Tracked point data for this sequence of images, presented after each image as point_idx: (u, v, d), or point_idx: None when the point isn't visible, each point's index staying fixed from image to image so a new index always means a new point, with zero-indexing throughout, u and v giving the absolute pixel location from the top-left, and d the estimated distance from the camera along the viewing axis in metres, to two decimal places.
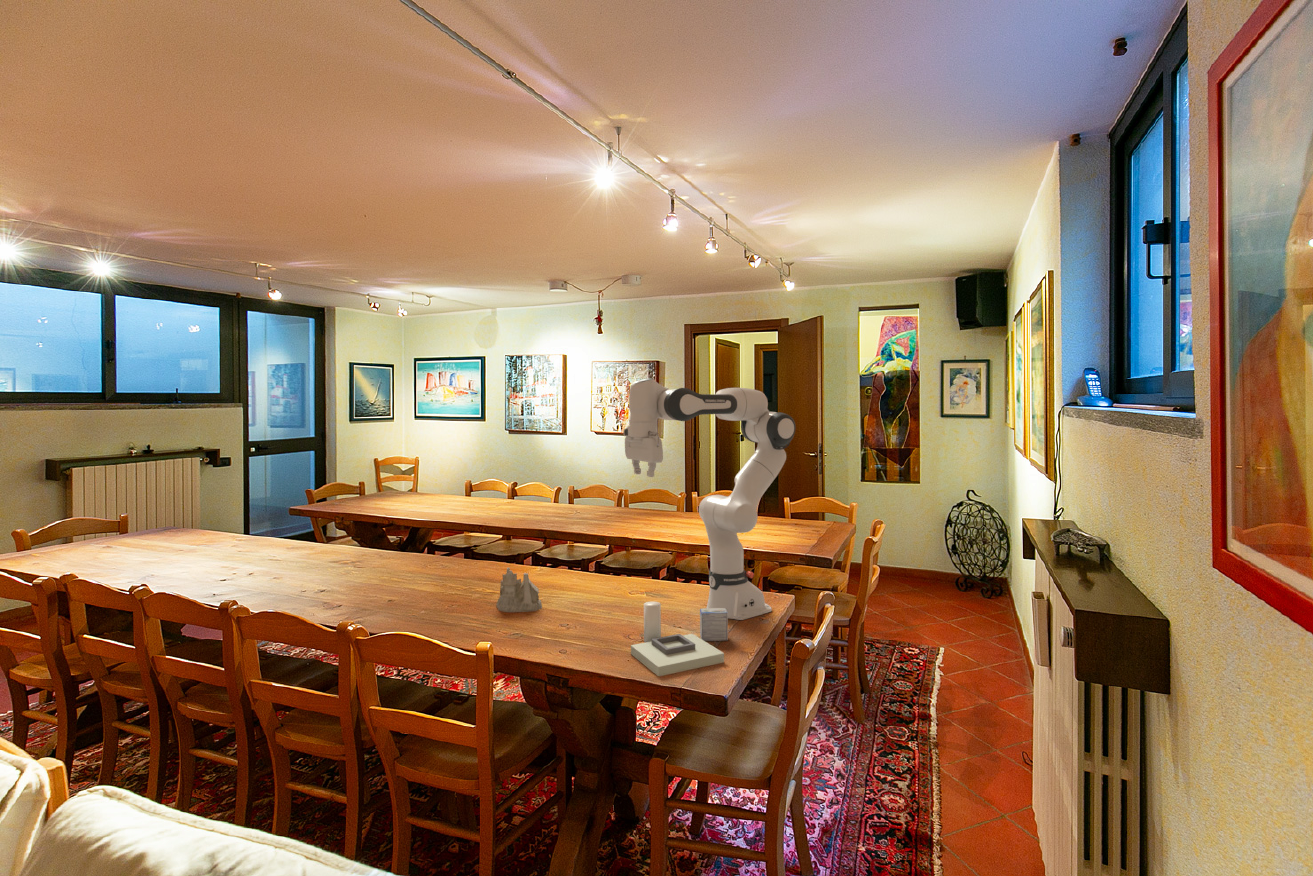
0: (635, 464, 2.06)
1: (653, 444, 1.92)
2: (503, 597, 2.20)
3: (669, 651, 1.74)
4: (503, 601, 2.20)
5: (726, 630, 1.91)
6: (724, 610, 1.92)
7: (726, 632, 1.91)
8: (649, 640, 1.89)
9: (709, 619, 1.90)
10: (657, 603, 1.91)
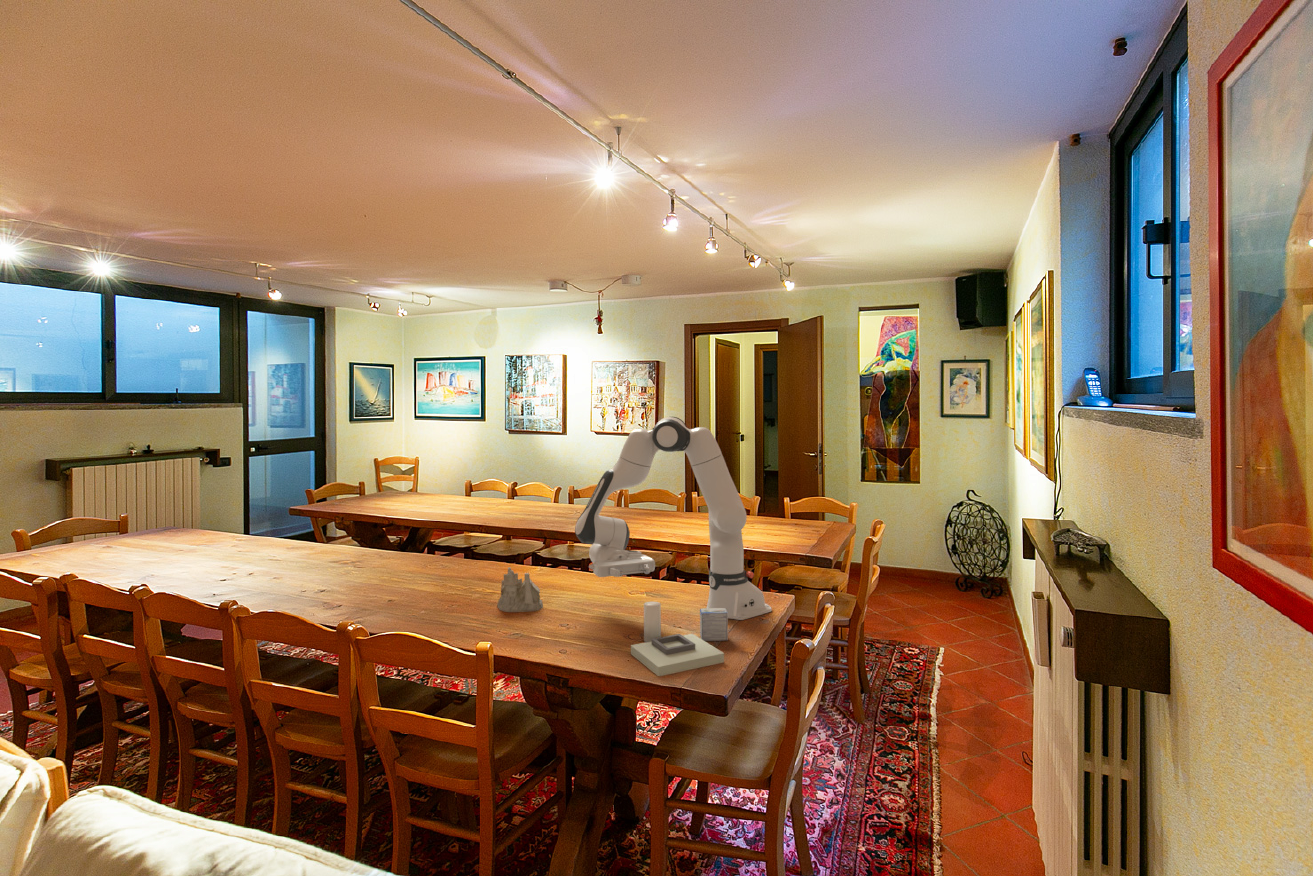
0: None
1: (593, 571, 2.06)
2: (504, 597, 2.20)
3: (669, 651, 1.74)
4: (504, 601, 2.20)
5: (726, 630, 1.91)
6: (724, 610, 1.92)
7: (726, 632, 1.91)
8: (649, 640, 1.89)
9: (709, 619, 1.90)
10: (657, 603, 1.91)
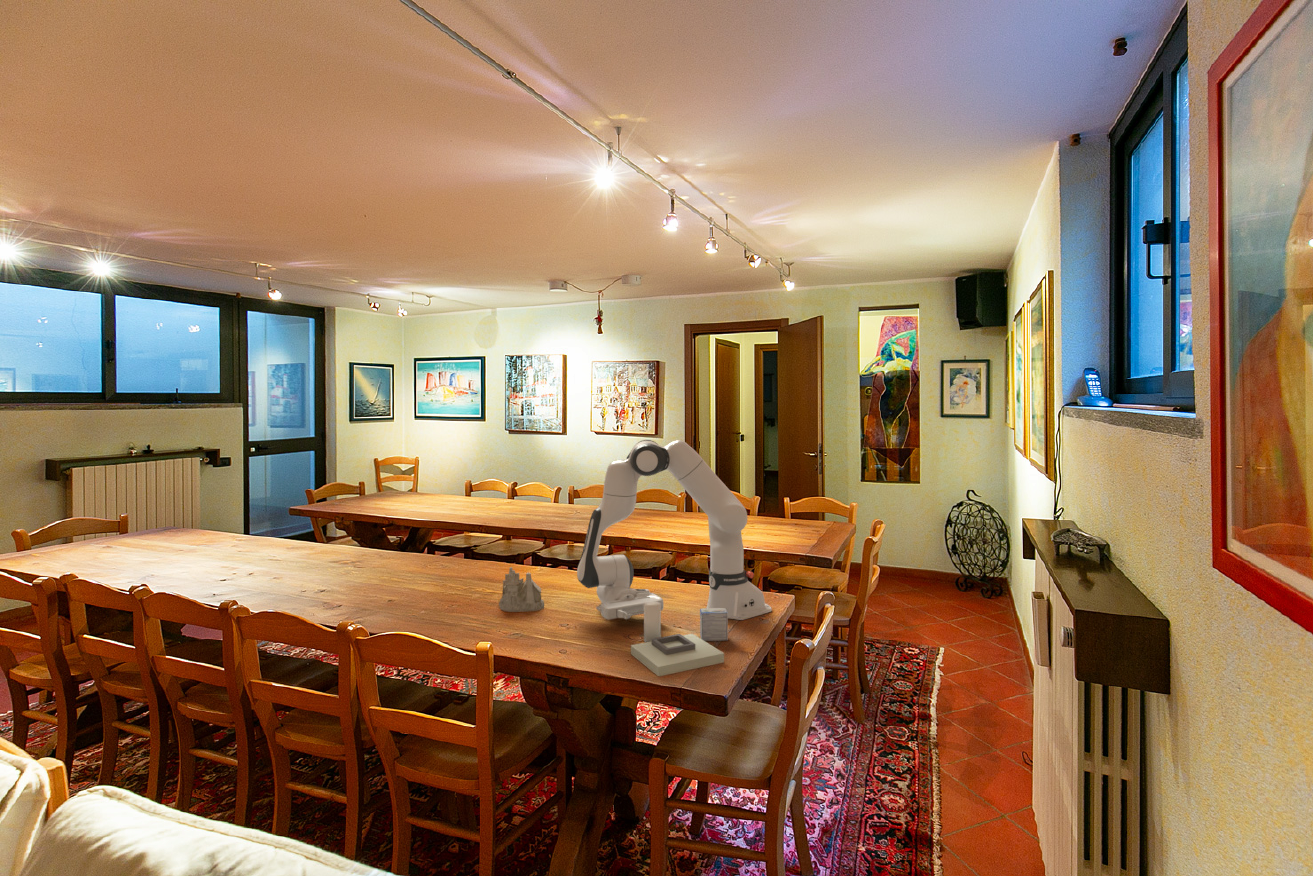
0: None
1: (601, 613, 2.02)
2: (506, 597, 2.20)
3: (669, 651, 1.74)
4: (506, 601, 2.20)
5: (726, 630, 1.91)
6: (724, 610, 1.92)
7: (726, 632, 1.91)
8: (649, 640, 1.89)
9: (709, 619, 1.90)
10: (657, 603, 1.91)
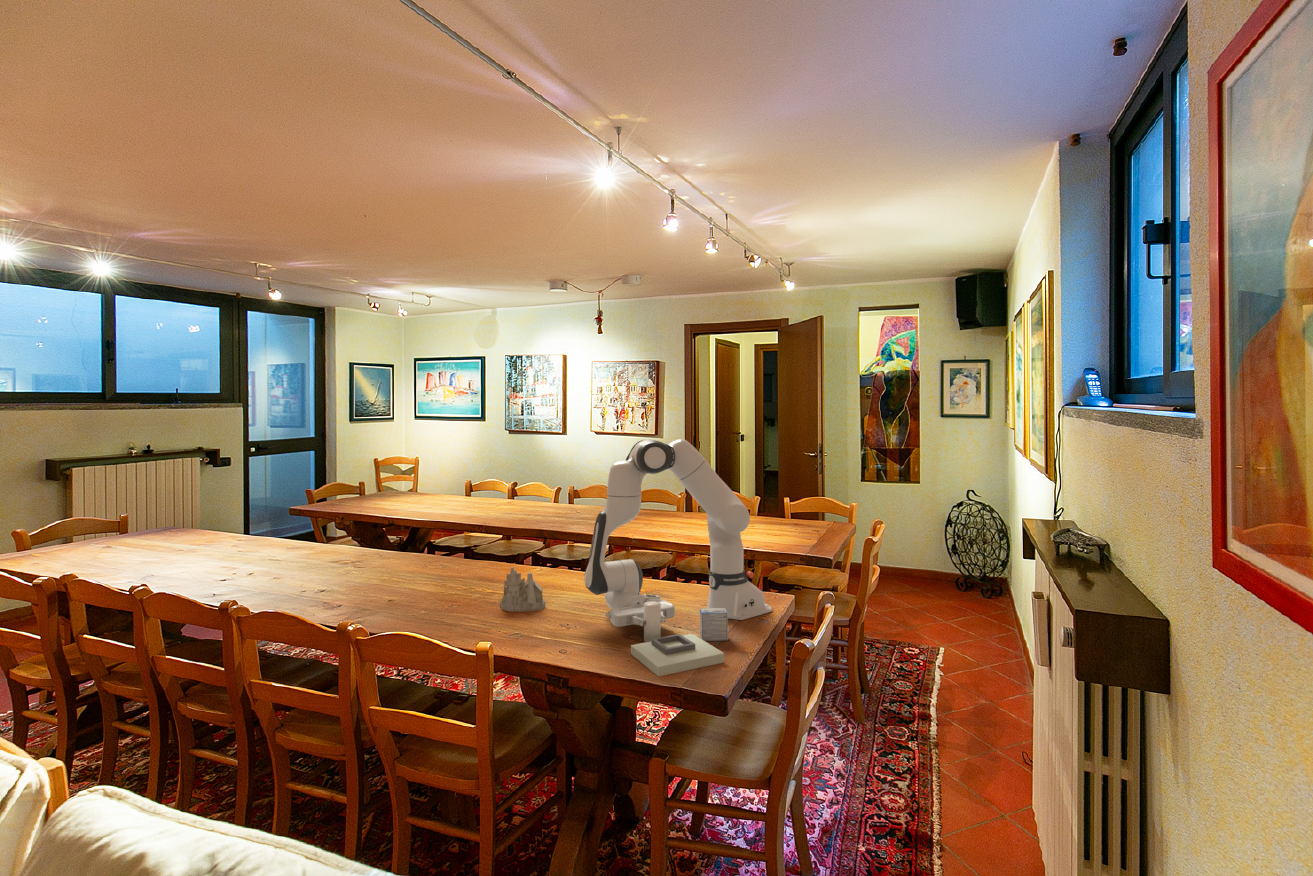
0: None
1: (610, 620, 1.95)
2: (507, 596, 2.21)
3: (669, 651, 1.74)
4: (507, 600, 2.21)
5: (726, 630, 1.91)
6: (724, 610, 1.92)
7: (726, 632, 1.91)
8: (649, 640, 1.89)
9: (709, 619, 1.90)
10: (657, 603, 1.91)
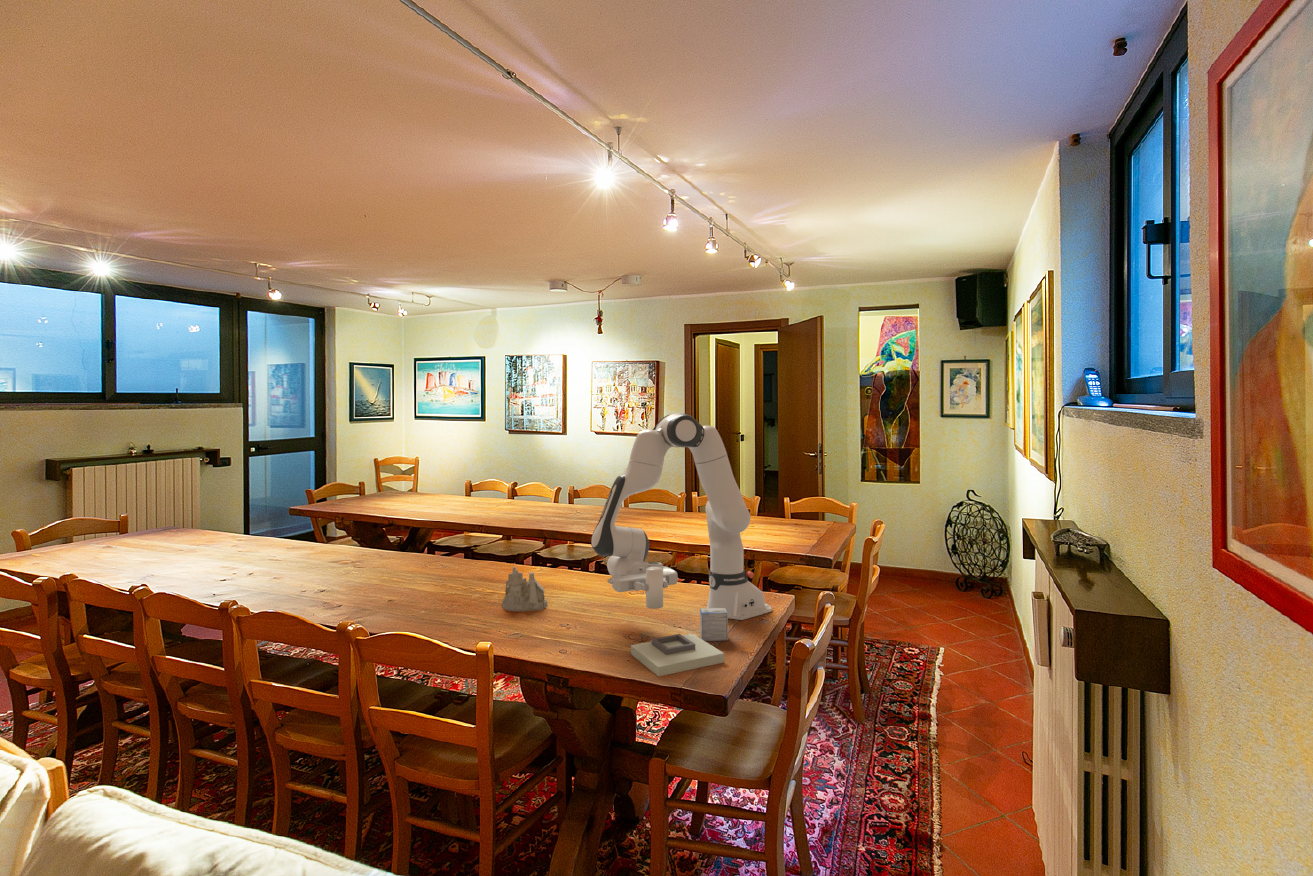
0: None
1: (612, 586, 1.93)
2: (509, 596, 2.21)
3: (669, 651, 1.74)
4: (509, 600, 2.21)
5: (726, 630, 1.91)
6: (724, 610, 1.92)
7: (726, 632, 1.91)
8: (651, 605, 1.87)
9: (709, 619, 1.90)
10: (659, 568, 1.89)
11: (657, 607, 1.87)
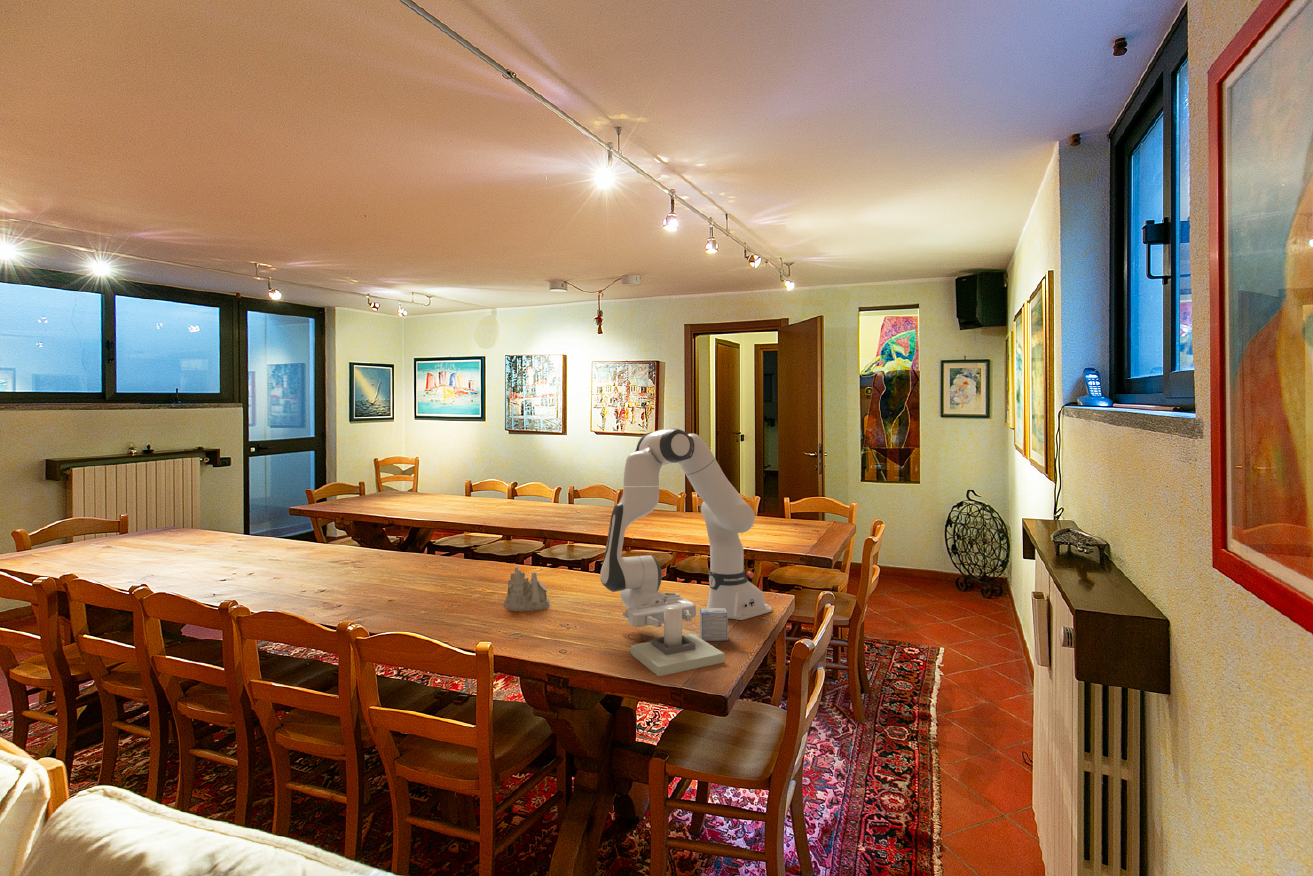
0: None
1: (628, 620, 1.83)
2: (511, 596, 2.21)
3: (669, 651, 1.74)
4: (511, 600, 2.21)
5: (726, 630, 1.91)
6: (724, 610, 1.92)
7: (726, 632, 1.91)
8: (670, 646, 1.77)
9: (709, 619, 1.90)
10: (678, 607, 1.80)
11: None
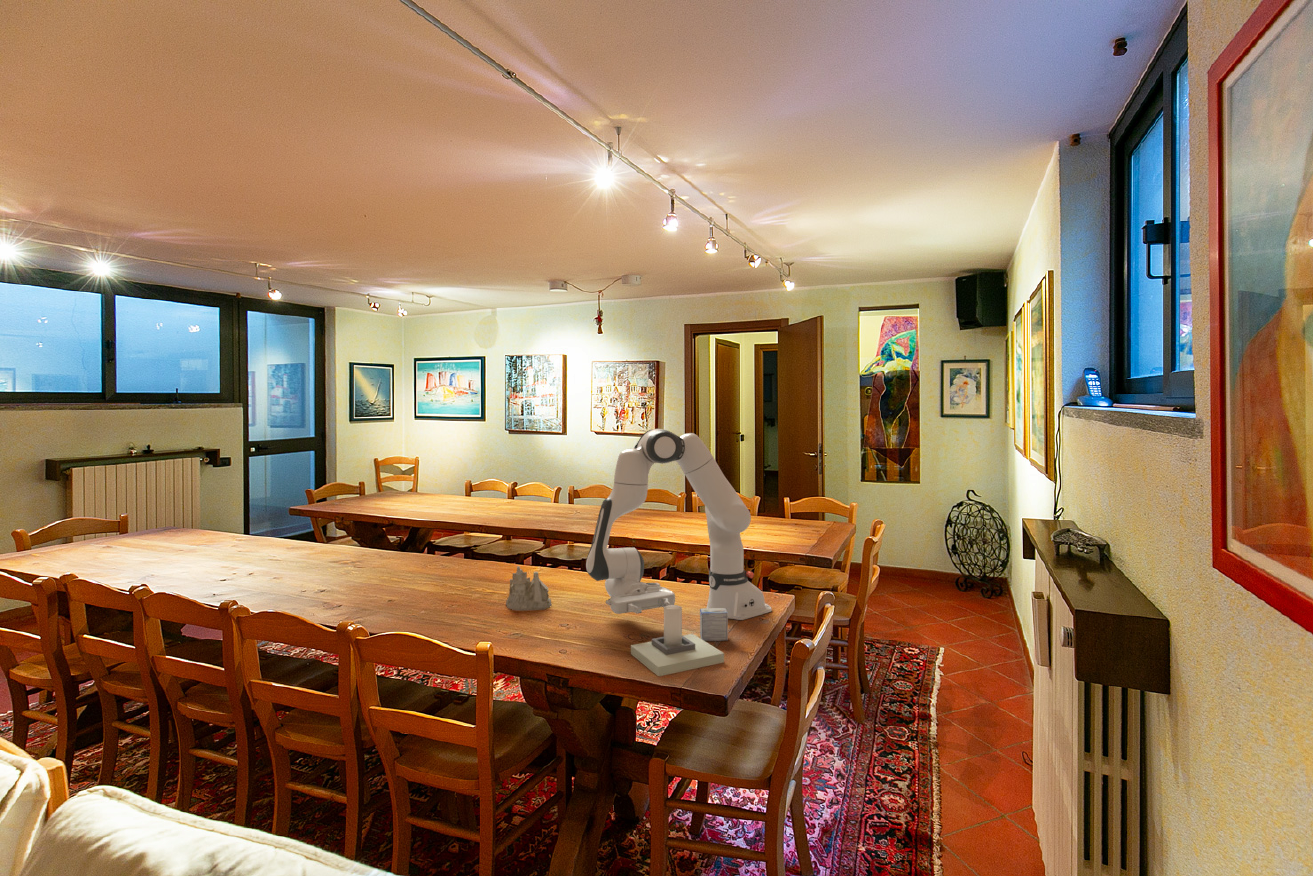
0: None
1: (610, 607, 1.95)
2: (513, 596, 2.22)
3: (669, 651, 1.74)
4: (513, 600, 2.22)
5: (726, 630, 1.91)
6: (724, 610, 1.92)
7: (726, 632, 1.91)
8: (670, 646, 1.77)
9: (709, 619, 1.90)
10: (678, 607, 1.80)
11: None
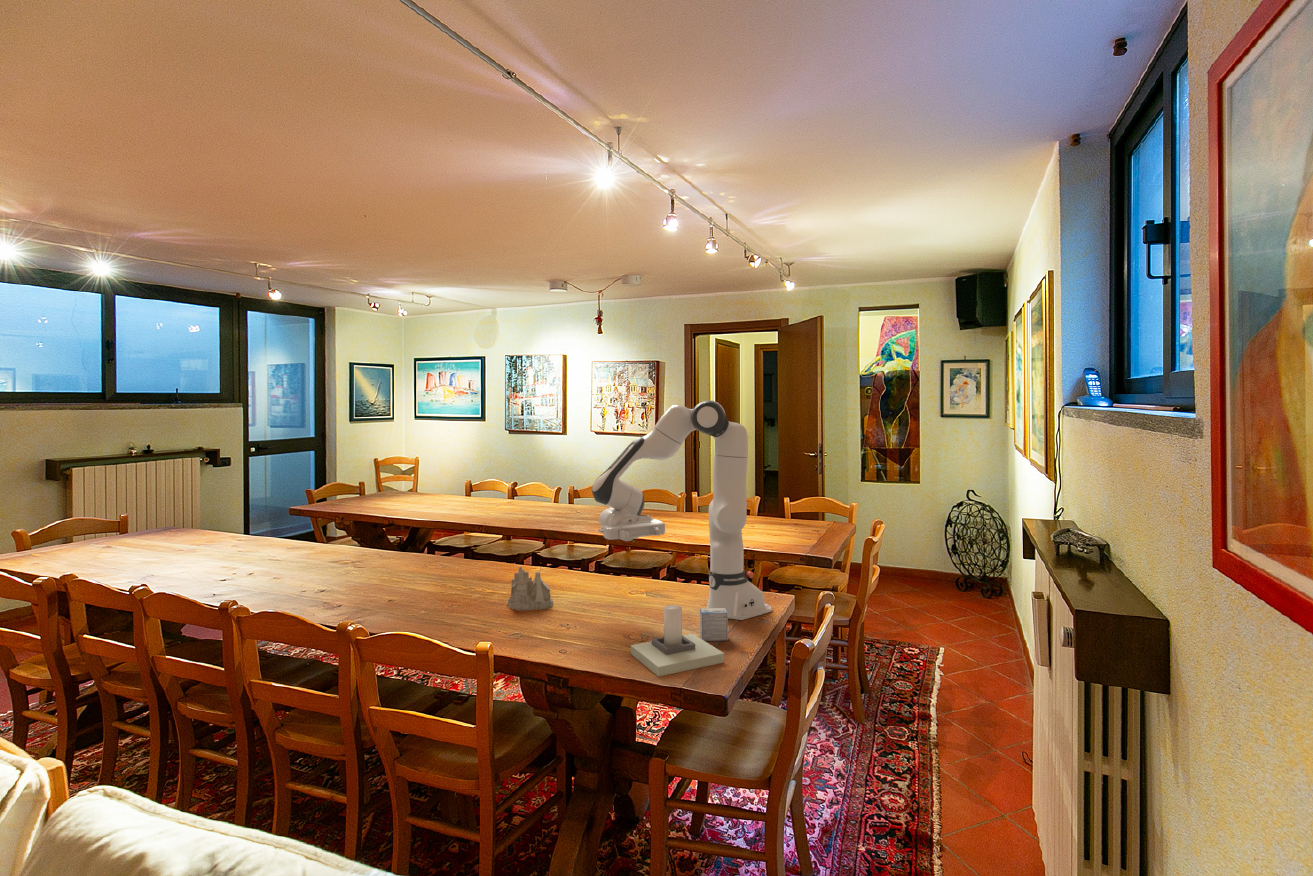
0: None
1: (603, 535, 2.04)
2: (515, 595, 2.22)
3: (669, 651, 1.74)
4: (515, 599, 2.22)
5: (726, 630, 1.91)
6: (724, 610, 1.92)
7: (726, 632, 1.91)
8: (669, 646, 1.77)
9: (709, 619, 1.90)
10: (678, 607, 1.80)
11: None
